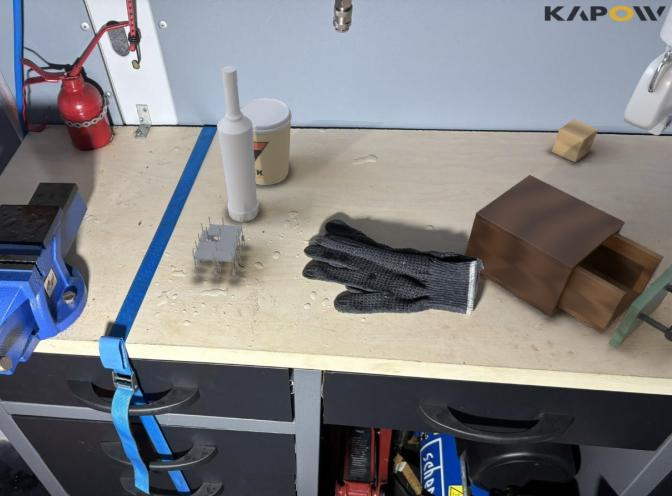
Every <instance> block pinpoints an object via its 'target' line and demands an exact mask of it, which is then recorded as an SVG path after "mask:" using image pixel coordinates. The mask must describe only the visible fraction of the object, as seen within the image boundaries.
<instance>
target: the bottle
mask: <svg viewBox="0 0 672 496" xmlns="http://www.w3.org/2000/svg"><path fill="white" fill-rule="evenodd" d="M220 71H221V78H222V79H221V80H222V84H223V93H224V101H225V113H224V116H223V117H222V118H221V119H220V120H219V121H218V123H217V124H216V128H217V134H218V141H219V147H220V154H221V160H222V167H223V174H224V180H225V187H226V193H227V194H226V195H227V200H228V202H227V211H228V214H229V217H230V218H231V219H232V220H233V221H236V222H239V223H241V222H242V223H245V222H246V223H247V222H250V221H252V220H254V219H255V218H257V216H258V215H259V210H260V203H259V200H258V199H257V184H256V179H255V162H254V144H253V127H252V121H251V120H250V119H249V118H247V117H246V116H244V115H243V113H242V112H241V111H240V106H241V104H240V97H239V86H238V85H239V84H238V71H237V67H236V66H234V65H225V66H223V67H222V68H221V69H220ZM240 219H241V220H240Z"/></svg>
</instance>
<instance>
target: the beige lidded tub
mask: <svg viewBox="0 0 672 496" xmlns="http://www.w3.org/2000/svg"><path fill="white" fill-rule="evenodd" d="M240 111H241V112H242V113H243V115H244V116H246V117H247V118H249V119H250V120H251V121H252V127H253V144H254V162H255V179H256V185H260V186H271V185H275V184H278V183H280V182H282V181H283V180H285V179H286V177H287V176H288V175H289V169H290V167H289V166H290V152H291V151H290V149H291V129H292V128H291V125H292V117H293V115H292V110H291V109H290V107H289V105H288V104H287V103H285V102H284V101H282V100H280V99H277V98H272V97H259V98H254V99H250V100H247V101H245V102H243V103H242V104H240Z"/></svg>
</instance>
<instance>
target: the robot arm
mask: <svg viewBox="0 0 672 496" xmlns="http://www.w3.org/2000/svg"><path fill="white" fill-rule="evenodd" d="M659 36H660V39H661V40H662V42H664V43H665V44H666V45H665V48H664V49H665V50H664V52H662V53H661V54H660V55H659V56H657V57H656V58H654V59H653V60H652V61H651V62H650V63H649V64H648V65H647V67H646V68H645V70H644V72H642V75H641V77H640V79H639V81H638V82H637V84H636V87H635V89H634V91H633V93H632V95H631V96H630V99H629V101H628V102H627V105H626V107H625V110H624V112H623V121H624V122H625V123H626V124H629V125H630V126H633V127H636V128H638V129H642V130H644V131H647V132H648V133H649V134H651V135H654V136H660V135H661V134H662V133H663V132H664V131H665V130H667V129H668V128H669V127H671V126H672V4H671V5H670V8H669V9H668V12H667V15H666V18H665V19H664V22H663V23H662V26H661V30H660V32H659Z"/></svg>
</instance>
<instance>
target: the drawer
mask: <svg viewBox="0 0 672 496" xmlns="http://www.w3.org/2000/svg"><path fill="white" fill-rule="evenodd" d="M664 259H665V256H664V255H662V254H660V253H657V252H656V251H654V250H652V249H650V248H648V247H645V246H644V245H642V244H640V243H638V242H636V241H634V240H632V239H630V238H628V237H627V236H624V235H623V234H620V233H619V234H618V233H617V232H616V233H615V234H614V235H612V236H611V237H610V238H609V239H608V240H607V241H605V242H604V243H603V244H602V245H601V246H600V247H598V248H597V249H596V250H595V251H594V252H593V253H592V254H590V255H589V256H588V257H587V258H586V259H585V260H583V261H582V262H581V263H580V264H579V265H578V266H576V267H575V268H574V270H573V272H572V274H571V276H570V279H569V281H568V283H567V285H566V287H565V289H564V292H563V294H562V296H561V298H560V300H559V303H558V305H557V306H558V307H560V309H561V310H563V311H564V312H566V313H568V314H569V315H571V316H572V317H574V318H576V319H577V320H579V321H580V322H582V323H584V324H586V325H587V326H589V327H590V328H592V329H594V330H595V331H597V332H598V333H600V334H603V333H605V331H606V330H607V329H609V327H611V325H613V324H614V323H615V322H616V321H617V320H618V319H619V317H621V316H622V315H623V314H624V315H623V317H622V319H621V321H620V322H619V324H618V325H617V328H616V329H615V331H614V332H613V334H612V335H611V338H610V339H609V340H608V343H607V344H608V345H609V346H611V347H612V348H614V349H615V350H618V348H619V347H620V346H621V345H622V344H623V343H624V342H626V341H627V339H629V337H630V336H631V335H632V334H633V333H634V332H636V330H637V329H639V327H640V326H641V325H642V324H643V323H646V324H648V325H649V326H651V327H653V328H655V329H656V330H658V331H659V332H661V333H663V335H664V338H665V339H666V340H667V341H669V342H671V343H672V324H671V325H670V326H669V327H668V326H666V325H665V324H663V323H661V322H659V321H657V320H656V319H654V318H652V317H651V315H652V314H653V313H654V312H655V311H656V310H657V309H658V308H659V307H660V306H661V305H662V303H663V302H664V301H665V299H666V297H667V295H668V294H669V293H671V294H672V264H671V265H670V266H669V267H668V268H667V269H665V271H663V272H662V273H661V275H659V276H658V277H657V278H656V279H655V280H654V281H653V282H652V283H651V284H650V285H649V283H650V281H652V279H653V277H654V276H655V274H656V272H657V270H658V268H659V267H660V266H661V263H662V262H663V260H664Z"/></svg>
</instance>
